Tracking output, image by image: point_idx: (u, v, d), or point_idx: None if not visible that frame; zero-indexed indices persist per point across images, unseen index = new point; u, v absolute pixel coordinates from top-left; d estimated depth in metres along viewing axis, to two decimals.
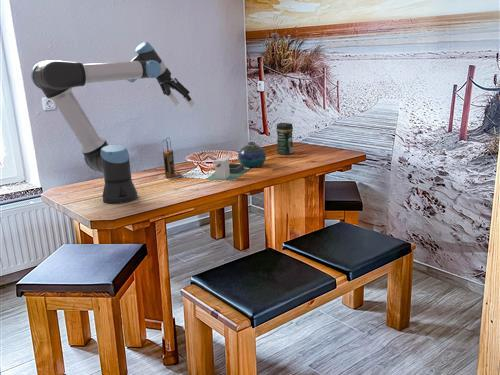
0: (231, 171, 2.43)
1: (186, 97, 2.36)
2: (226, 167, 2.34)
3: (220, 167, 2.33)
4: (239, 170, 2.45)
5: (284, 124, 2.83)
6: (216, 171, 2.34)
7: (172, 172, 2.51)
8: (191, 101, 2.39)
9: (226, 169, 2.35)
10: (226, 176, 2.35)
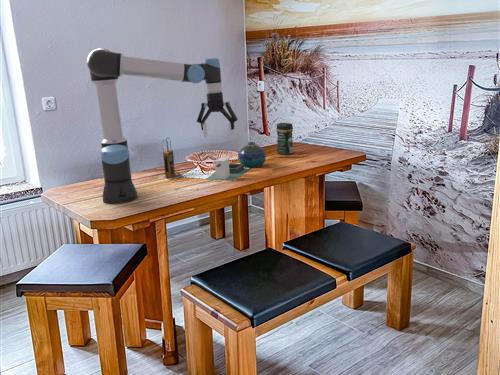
0: (231, 171, 2.43)
1: (231, 124, 2.28)
2: (226, 167, 2.34)
3: (220, 167, 2.33)
4: (239, 170, 2.45)
5: (284, 124, 2.83)
6: (216, 171, 2.34)
7: (172, 172, 2.51)
8: (232, 131, 2.30)
9: (226, 169, 2.35)
10: (226, 176, 2.35)
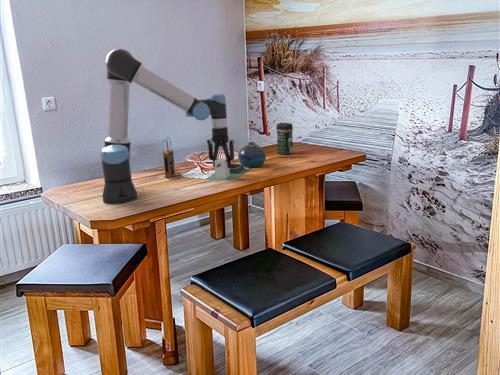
0: (231, 171, 2.43)
1: (228, 163, 2.33)
2: None
3: (220, 167, 2.33)
4: (239, 170, 2.45)
5: (284, 124, 2.83)
6: (216, 171, 2.34)
7: (172, 172, 2.51)
8: (228, 169, 2.36)
9: None
10: (226, 176, 2.35)
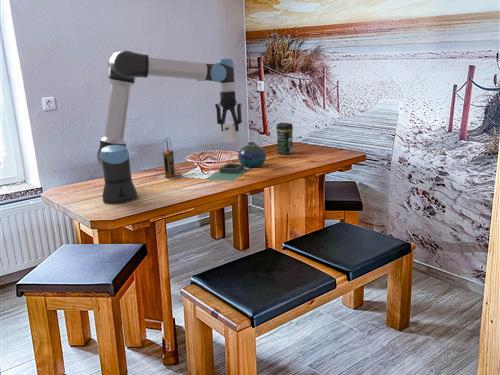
0: (231, 171, 2.43)
1: (236, 126, 2.40)
2: (233, 130, 2.41)
3: (228, 130, 2.40)
4: (239, 170, 2.45)
5: (284, 124, 2.83)
6: (225, 134, 2.41)
7: (172, 172, 2.51)
8: (236, 133, 2.43)
9: None
10: (234, 139, 2.42)
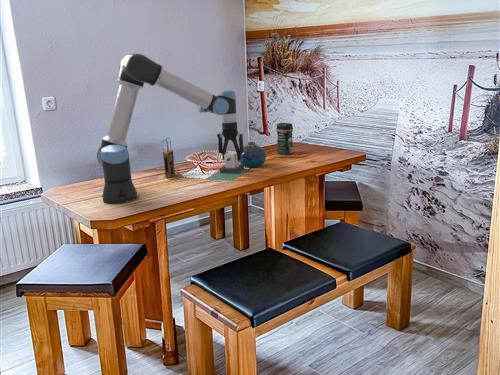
0: (231, 171, 2.43)
1: (238, 156, 2.45)
2: (235, 161, 2.46)
3: (230, 161, 2.45)
4: (239, 170, 2.45)
5: (284, 124, 2.83)
6: (226, 164, 2.46)
7: (172, 172, 2.51)
8: (238, 162, 2.47)
9: (235, 163, 2.46)
10: None
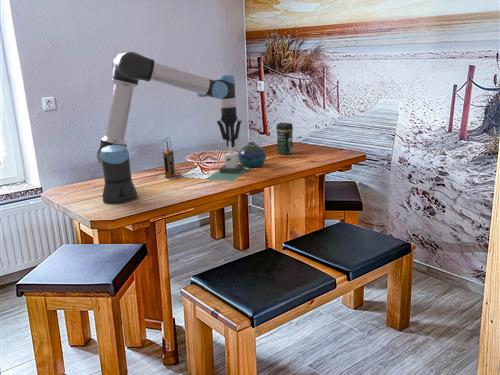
0: (231, 171, 2.43)
1: (232, 142, 2.44)
2: (235, 161, 2.46)
3: (230, 161, 2.45)
4: (239, 170, 2.45)
5: (284, 124, 2.83)
6: (226, 164, 2.46)
7: (172, 172, 2.51)
8: (232, 148, 2.46)
9: (235, 163, 2.46)
10: None
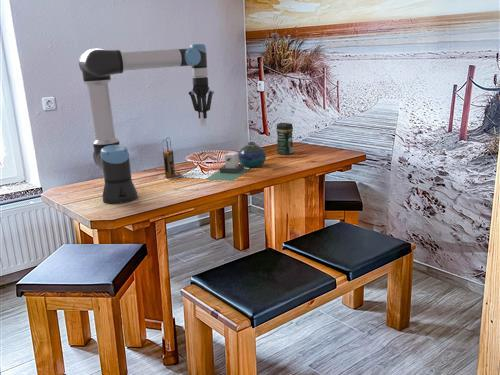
0: (231, 171, 2.43)
1: (204, 113, 2.39)
2: (235, 161, 2.46)
3: (230, 161, 2.45)
4: (239, 170, 2.45)
5: (284, 124, 2.83)
6: (226, 164, 2.46)
7: (172, 172, 2.51)
8: (204, 120, 2.41)
9: (235, 163, 2.46)
10: None
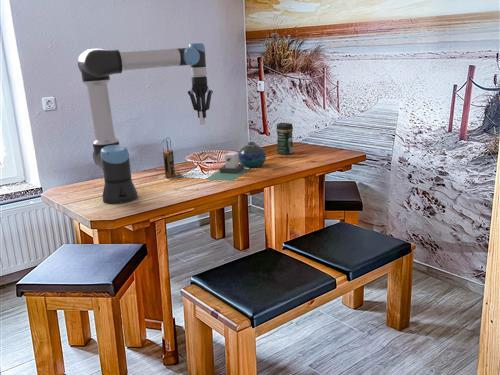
0: (231, 171, 2.43)
1: (203, 113, 2.39)
2: (235, 161, 2.46)
3: (230, 161, 2.45)
4: (239, 170, 2.45)
5: (284, 124, 2.83)
6: (226, 164, 2.46)
7: (172, 172, 2.51)
8: (204, 120, 2.41)
9: (235, 163, 2.46)
10: None
